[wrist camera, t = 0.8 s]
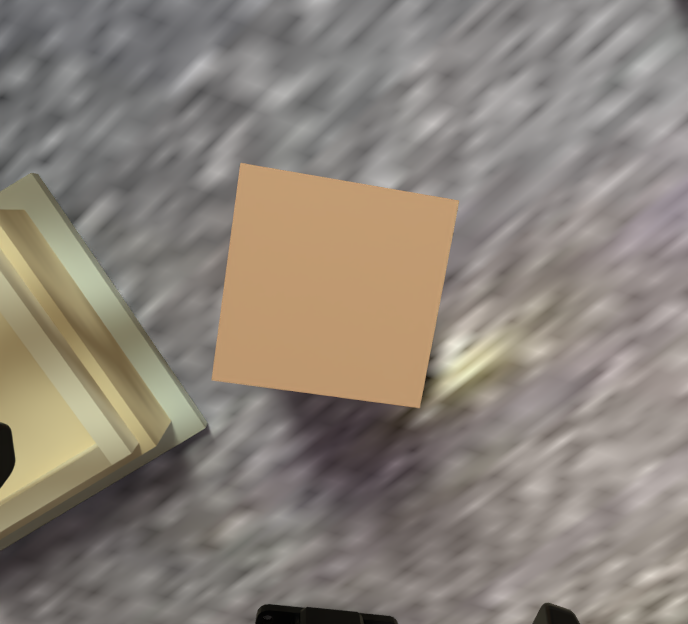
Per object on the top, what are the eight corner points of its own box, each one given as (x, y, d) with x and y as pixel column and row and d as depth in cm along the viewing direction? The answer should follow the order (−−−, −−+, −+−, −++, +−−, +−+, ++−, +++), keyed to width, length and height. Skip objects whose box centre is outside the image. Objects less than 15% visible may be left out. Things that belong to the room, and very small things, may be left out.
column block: (367, 323, 25) (419, 408, 14) (249, 306, 25) (211, 380, 14) (387, 205, 24) (459, 200, 14) (266, 184, 24) (240, 163, 13)
